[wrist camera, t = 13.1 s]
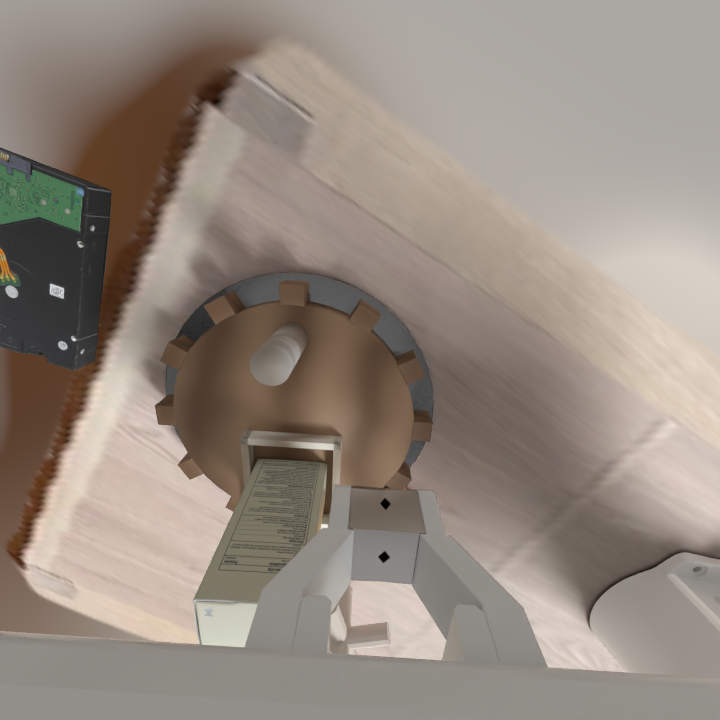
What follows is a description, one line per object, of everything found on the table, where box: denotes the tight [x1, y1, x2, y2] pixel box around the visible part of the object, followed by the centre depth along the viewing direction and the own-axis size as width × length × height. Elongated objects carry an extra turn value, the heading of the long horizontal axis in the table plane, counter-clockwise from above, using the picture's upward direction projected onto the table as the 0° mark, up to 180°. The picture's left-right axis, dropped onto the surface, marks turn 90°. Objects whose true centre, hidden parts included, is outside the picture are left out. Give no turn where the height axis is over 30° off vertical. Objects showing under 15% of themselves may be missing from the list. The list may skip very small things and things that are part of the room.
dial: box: [155, 280, 433, 529], centre depth 26 cm, size 23×23×8 cm
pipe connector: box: [330, 586, 390, 655], centre depth 34 cm, size 10×10×10 cm
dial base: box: [166, 273, 433, 488], centre depth 30 cm, size 24×24×1 cm
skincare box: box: [193, 459, 327, 647], centre depth 24 cm, size 6×4×12 cm
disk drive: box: [0, 148, 112, 370], centre depth 26 cm, size 10×3×15 cm
